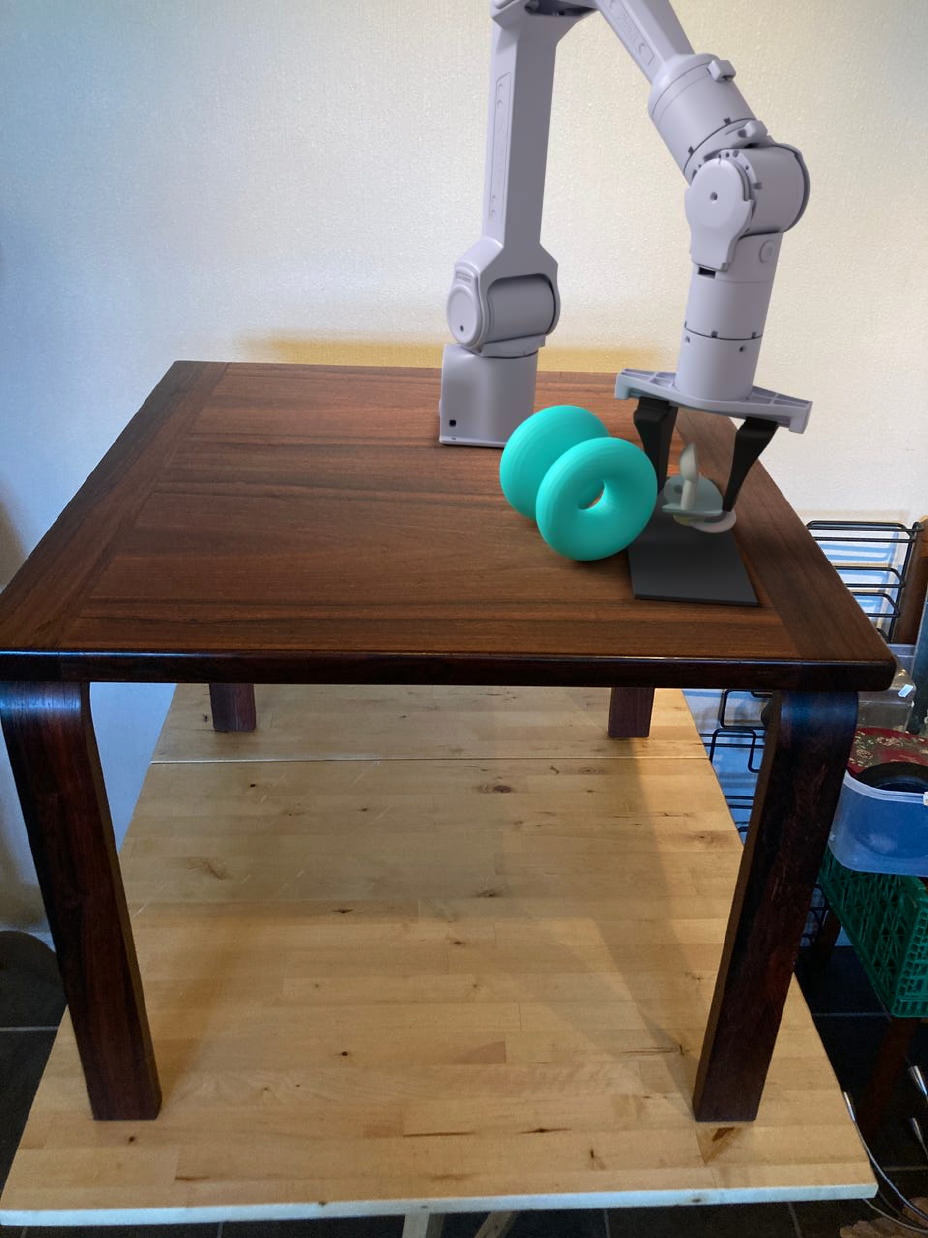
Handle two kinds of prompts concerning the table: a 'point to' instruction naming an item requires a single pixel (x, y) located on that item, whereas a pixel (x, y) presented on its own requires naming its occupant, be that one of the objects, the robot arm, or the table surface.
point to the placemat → (687, 562)
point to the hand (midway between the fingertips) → (692, 498)
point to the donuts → (578, 482)
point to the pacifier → (695, 496)
